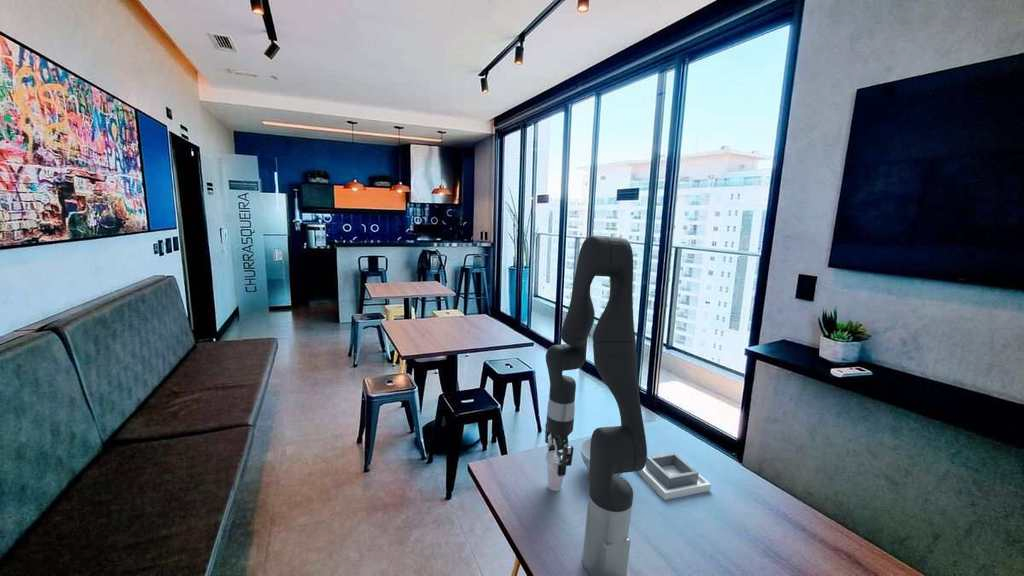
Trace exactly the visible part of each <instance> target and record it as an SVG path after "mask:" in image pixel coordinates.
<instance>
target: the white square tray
mask: <svg viewBox="0 0 1024 576" xmlns="http://www.w3.org/2000/svg"><path fill="white" fill-rule="evenodd" d="M636 472H637V473H638V474H639V475H640V477H642V479H644V480H645V482H646V483H647V484H648V486H649V485H650V487H651V488H652V489H653V490H654V491H655V492H656V494H658V495H659V496H660V497H661V498H662V499H663V500H664V501H667V500H671V499H676V498H682V497H686V496H691V495H696V494H701V493H706V492H707V493H708V492H710V491H711V487H712V483H710V481H708V480H707V479H706V478H705V477H703V476H702V475H701V474H700V473H699V472H698V471H697V470H696V469H695V468H694V467H692V466H691V465H690V464H689V463H688V462H686V461H685V460H684V459H683V458H682V457H680V456H679V455H678V454H677V453H676V452H671V453H665V454H658V455H652V456H647V461H646V465H645V467H644V468H643V469H642V470H640V471H636Z"/></svg>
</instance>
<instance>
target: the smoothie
mask: <svg viewBox="0 0 1024 576" xmlns="http://www.w3.org/2000/svg"><path fill="white" fill-rule="evenodd" d="M559 452H563V451H562V450H559ZM561 460H562V455H561ZM545 462H546V466H547V467H546V469H547V470H546V471H547V487H548V489H549V490H550V491H552V492H559V491H560V490H562V485H563V481H564V476H558V474H557V472H558V456H557V455H556V452H555V450H553V451H549V452H548V451H547V453H546V455H545Z"/></svg>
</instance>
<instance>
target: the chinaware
mask: <svg viewBox="0 0 1024 576" xmlns="http://www.w3.org/2000/svg"><path fill="white" fill-rule="evenodd" d="M590 444H591V437H590V438H587V439H585V440H584V441H583V442H582V443H581V444H580V447H579V448H580V455H581V458H582V461H583V464H584V466H585V467H586V468H587V469H588V470H589V467H590ZM622 474H623V473H616V475H618V476H621V475H622Z"/></svg>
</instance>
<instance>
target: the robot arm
mask: <svg viewBox="0 0 1024 576" xmlns="http://www.w3.org/2000/svg"><path fill="white" fill-rule="evenodd" d="M575 268H576V269H575V274H574V277H573V278H574V279H573V284H572V285H573V286H572V291H571V296H570V302H569V306H568V310H567V311H566V315H565V319H564V320H563V323H562V327H561V331H560V335H559V336H560V338H561V340H562V341H563V343H562V344H553V345H551V346H550V347H549V348H548V349H547V351H546V352H545V353H546V354H545V363H546V367H547V372H548V377H549V396H548V401H547V409H546V410H547V411H546V423H545V431H544V434H545V435H544V437H545V438H544V442H545V444H547V449H548V450H547V453H548V452H549V451H553V450H555V452H556V455H557V456H558V472H557V474H558V476H566V473H567V467H570V466H572V461H573V455H574V449H575V448H574V446H573V445H570V444H569V435H570V434H571V433H572V432H573V431H574V421H575V411H576V393H577V392H576V389H577V383H576V382H577V381H576V380H575V378H573V377H572V376H569V375H564V374H563V372H564V371H572V370H579V369H580V368H582V367H583V365H584V364H585V362H586V357H587V342H588V337H589V335H590V333H591V331H592V328H593V325H594V322H595V315H596V314H595V308H594V303H593V300H592V297H591V285H592V283H593V281H594V278H595V277H608V278H609V297H608V300H607V303H606V306H605V307H604V310H603V312H602V313H601V315H600V317H599V319H598V321H597V323H596V325H595V327H594V330H593V333H592V348H593V349H592V351H593V363H594V367H595V369H596V371H597V373H598V374H599V376H600V378H601V379H602V381H603V382H604V384H605V385H606V386H607V388H608V389H609V391H610V393H611V394H612V396H613V397H614V399H615V402H616V403H617V407H618V411H619V416H620V425H617V426H615V425H613V426H604V427H603V426H602V427H596V428H595V429H594V430H593V432H592V435H591V437H590V438H591V444H590V467H589V469H588V480H589V481H588V482H589V490H588V500H587V509H586V510H587V511H586V519H585V521H586V522H585V527H584V528H585V530H584V540H583V549H582V565H583V568H584V570H585V571H586V573H587V574H588V575H590V576H627V572H628V566H629V565H628V563H629V558H630V556H629V555H630V548H631V539H629V531H630V525H631V516H632V510H633V509H632V508H633V502H634V501H633V500H634V490H633V487H632V485H631V483H629V482H628V481H627V480H626V479H625V478H624V477H621V475H619V476H618V475H616V473H622V474H625V473H634V472H637V471H640V470H642V469H643V468H644V467H645V465H646V461H647V457H648V446H647V439H646V438H647V437H646V432H645V425H644V418H643V412H642V407H641V399H640V391H639V390H640V389H639V377H638V357H637V344H636V343H637V342H636V340H637V339H636V332H635V321H634V301H633V299H634V298H633V293H634V287H633V286H634V253H633V249H632V245H631V243H630V241H629V240H628V239H627V238H624V237H618V236H609V235H608V236H607V235H599V234H598V235H596V234H595V235H589V236H587V237H586V238H585V239H584V241H583V243H582V245H581V246H580V250H579V253H578V257H577V263H576V267H575ZM559 451H562V452H559ZM561 455H562V460H561Z"/></svg>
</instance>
